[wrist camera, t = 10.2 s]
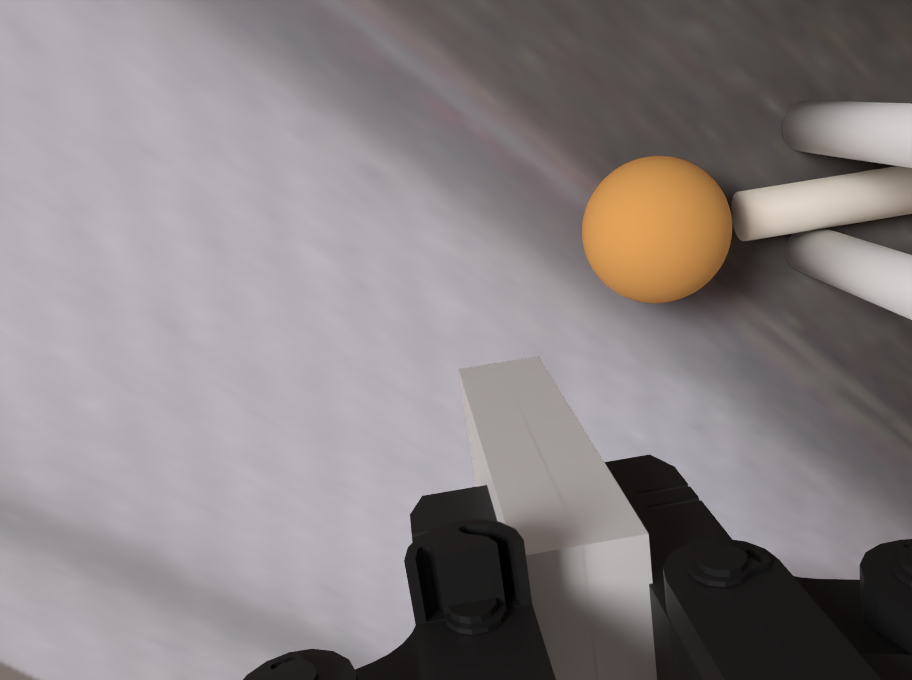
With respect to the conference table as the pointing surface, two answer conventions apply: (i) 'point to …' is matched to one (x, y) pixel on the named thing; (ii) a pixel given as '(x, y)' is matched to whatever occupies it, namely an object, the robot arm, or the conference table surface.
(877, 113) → the pin
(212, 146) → the conference table surface
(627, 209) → the ball
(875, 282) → the pin
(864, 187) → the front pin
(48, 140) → the conference table surface
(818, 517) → the conference table surface
